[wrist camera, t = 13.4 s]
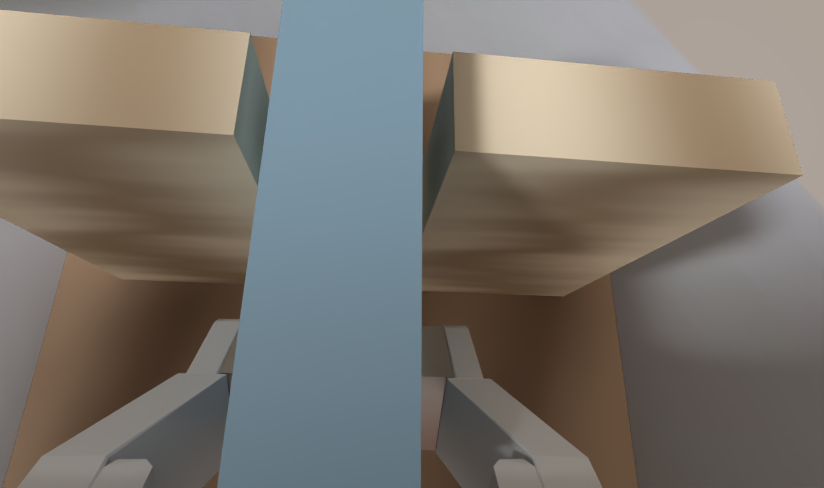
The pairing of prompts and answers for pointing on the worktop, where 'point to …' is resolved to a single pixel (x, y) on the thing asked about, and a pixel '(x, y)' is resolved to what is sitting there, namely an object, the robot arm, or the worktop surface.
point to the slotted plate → (334, 258)
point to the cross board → (441, 209)
